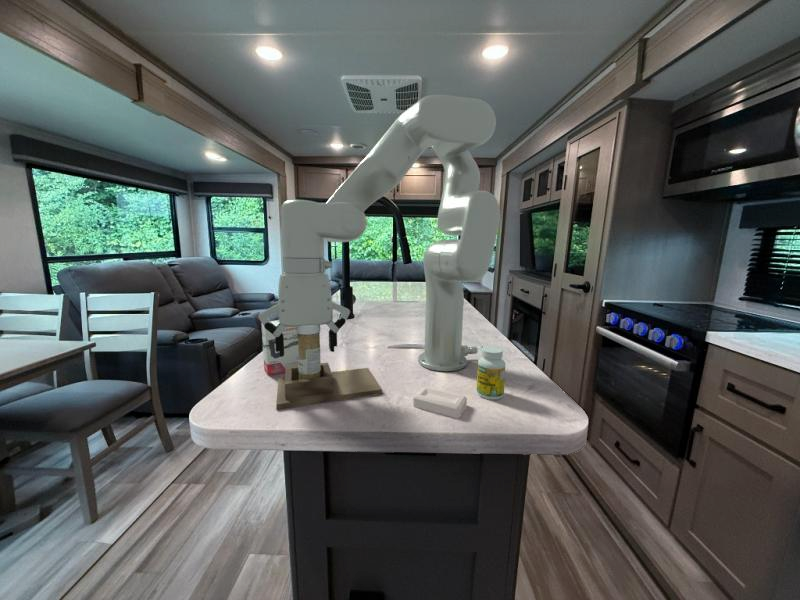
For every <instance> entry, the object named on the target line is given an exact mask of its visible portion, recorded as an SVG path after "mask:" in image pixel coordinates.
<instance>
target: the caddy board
mask: <svg viewBox="0 0 800 600" xmlns="http://www.w3.org/2000/svg"><path fill="white" fill-rule="evenodd" d="M277 379H278V380H277V393H276V402H275V403H276V404H275V405H276V406H275V407H276V408H275V409H276V410H282V409H283V410H284V409H291V408H296V407H303V406H310V405H315V404H317V405H318V404H324V403H329V402H336V401H342V400H348V399H349V400H351V399H356V398H363V397H369V396H370V397H371V396H376V395H382V394H383V388H382V387H381V385H380V384H379V382H378V381H377V379H376V378H375V376H374V375H373V372H371V370H370V369H369V367H364V368H355V369H348V370H347V369H345V370H338V371H331V368H330V364H329V362H321V370H320V377H319V378H311V379H302V380H299V369H298V366H290V367H285V372H284V377H278V378H277Z"/></svg>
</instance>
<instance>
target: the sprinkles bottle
mask: <svg viewBox="0 0 800 600" xmlns="http://www.w3.org/2000/svg"><path fill="white" fill-rule="evenodd" d="M297 334H298V369H299V380H302V379H311V378H319V377H320V370H321V363H322V362H321V342H320V341H321V340H320V338H321V337H320V334H321V325H303V326H297Z"/></svg>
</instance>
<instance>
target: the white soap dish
mask: <svg viewBox="0 0 800 600" xmlns="http://www.w3.org/2000/svg"><path fill="white" fill-rule="evenodd" d="M467 403H468V398H467V397H466V396H465V395H462V394H458V393H453V392H450V391H444V390H440V389H436V388H432V387H428V386H423V387H422V388H420V389H419V390H418V391H417V392H416V393H415V394H414V395H413V396H412V406H413V407H414V408H417V409H420V410H426V411H428V412H432V413H436V414H439V415H443V416H446V417H451V418H453V419H460V418H461V416H462V414H463V413H464V411H465V409H466V408H467Z"/></svg>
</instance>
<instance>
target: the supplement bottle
mask: <svg viewBox="0 0 800 600" xmlns="http://www.w3.org/2000/svg"><path fill="white" fill-rule="evenodd" d="M503 352H504V351H503V349H502V348H499V347H496V346H484V347H482V348H481V356H482V357H480V358H478V361H477V376H476V377H477V378H476V393H477V395H478V396H479V397H481V398H483V399H486V400H491V401H492V400H494V401H495V400H496V401H498V400H500V399H502V398H503V397H504V393H505V382H506V381H505V380H506V379H505V378H506V362H505V361H504V359H502V358H503V355H504V354H503Z"/></svg>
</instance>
